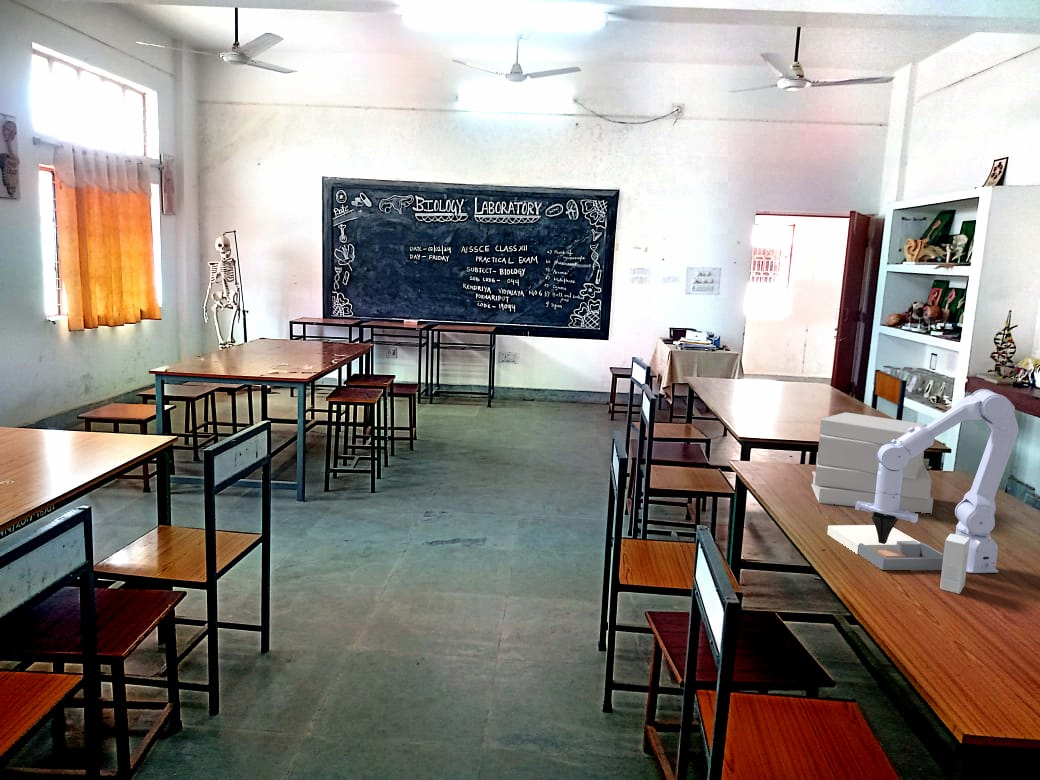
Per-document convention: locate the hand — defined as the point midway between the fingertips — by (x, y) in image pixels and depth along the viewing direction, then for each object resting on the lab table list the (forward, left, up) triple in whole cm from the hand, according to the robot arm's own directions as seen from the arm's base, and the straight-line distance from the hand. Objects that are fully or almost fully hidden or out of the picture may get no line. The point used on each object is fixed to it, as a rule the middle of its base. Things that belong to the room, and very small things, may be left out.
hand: (882, 542), depth 192 cm
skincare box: (-20, -5, -4) cm, 21 cm away
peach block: (-4, 0, -1) cm, 4 cm away
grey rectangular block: (0, -6, -2) cm, 7 cm away
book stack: (+48, -25, -4) cm, 54 cm away
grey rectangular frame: (-4, -3, -3) cm, 6 cm away
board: (+9, -3, -3) cm, 10 cm away
